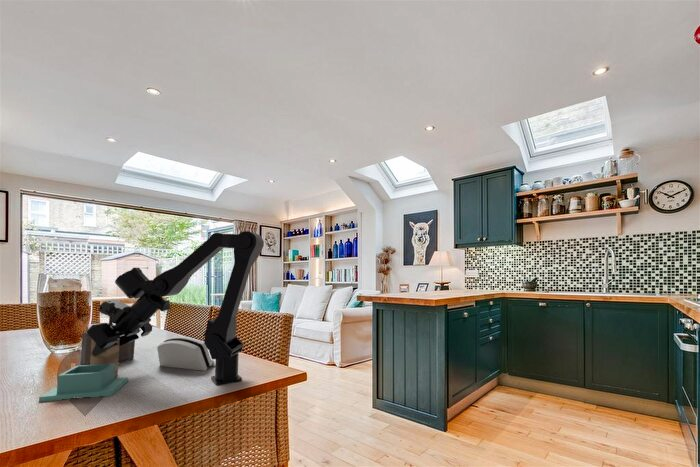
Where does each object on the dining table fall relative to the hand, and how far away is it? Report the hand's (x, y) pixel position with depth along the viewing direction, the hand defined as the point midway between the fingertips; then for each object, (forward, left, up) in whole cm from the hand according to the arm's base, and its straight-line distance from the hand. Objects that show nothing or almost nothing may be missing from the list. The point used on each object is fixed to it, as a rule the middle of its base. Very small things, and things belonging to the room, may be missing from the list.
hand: (100, 352), depth 96 cm
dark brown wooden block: (+17, -3, -7) cm, 19 cm away
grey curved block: (-1, -21, -7) cm, 22 cm away
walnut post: (-1, -1, -7) cm, 7 cm away
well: (-11, +2, -7) cm, 13 cm away
